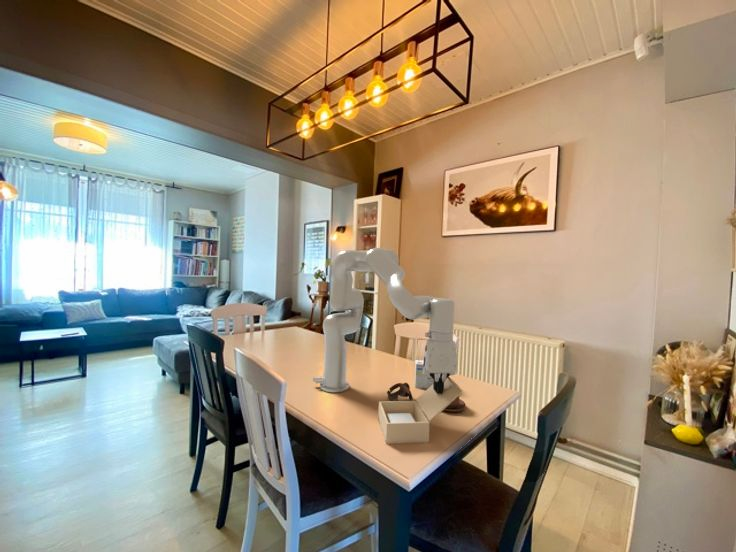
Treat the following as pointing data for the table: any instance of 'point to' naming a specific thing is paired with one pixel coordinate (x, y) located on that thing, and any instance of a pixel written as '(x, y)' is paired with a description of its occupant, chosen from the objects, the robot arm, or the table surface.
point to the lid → (438, 398)
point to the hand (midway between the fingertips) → (438, 392)
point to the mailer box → (403, 422)
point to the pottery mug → (400, 391)
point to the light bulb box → (422, 376)
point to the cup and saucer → (455, 405)
